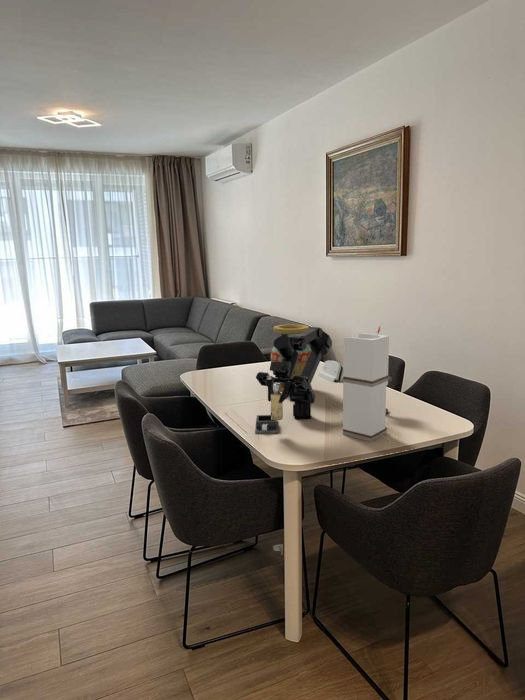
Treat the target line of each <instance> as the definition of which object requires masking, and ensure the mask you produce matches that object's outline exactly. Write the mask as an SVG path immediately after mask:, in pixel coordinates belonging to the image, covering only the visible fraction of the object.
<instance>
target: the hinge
mask: <svg viewBox="0 0 525 700" xmlns="http://www.w3.org/2000/svg"><path fill="white" fill-rule="evenodd" d="M318 377H321V378H323V379H325V380H327V381H330V382H331V383H335V381H338V382H343V365H342V364H341V363H340V362H338V361H336V360H324V363H323V366H322V368H321V370H320V371H319V372H318Z"/></svg>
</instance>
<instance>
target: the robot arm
mask: <svg viewBox="0 0 525 700" xmlns="http://www.w3.org/2000/svg"><path fill="white" fill-rule="evenodd" d="M308 344H309V347H310V348H311V353H310V355H309V357H308V360H307V362H306V364H305V367H304V369H303V371H302V373H301V376H294V377H293V379H291V378H292V375H293V374H295V370H294V369H295V366H296V364H297V361H300V357H299V354H298V352H297V351H303V350H304V349H305V348H306V347H307V345H308ZM332 345H333V340H332V338H331V337H330V335H329V334H328V333H326V332H325V331H324V330H323V328H322V327H320V326H319V327H316V326H315V327H314V326H310V327H309V329H308V330H306V331H304V332H302V333H300V334H292V335H287V334H282V336H281V335H279V336H278V337H276V338H275V340H274V341H273V347H275V348H276V350H277V352H278V353H279V355H280V356H281V357H282V359H281V362H271V361H270V366H269V371H271V372H272V374H273V376H272V375H270V374H269V372H264V371H259V372H257V374H256V376H255V379H256V380H257V382H258V384H260V386H264V387H267V401H268V402H270V403H271V393H273V384H280V383H283V384H285V387H284V390H283V392H281V393H282V395H281V398H280V403H282V402H283V403H284V402H285V400H286V399H288V397H289V401H290V402H291V403H293V404H292V414H293V415H292V416H293V417H294V419H295V420H303V419H305V420H311V419H312V415H311V414H312V412H311V411H312V409H311V408H312V405H311V404H314V403H315V402H316V401H315V400H316V395H315V394H314V391H313V387H312V381H313V379H314V376H315V374H316V371H317V369H318V367H319V365H320V362H321V359H322V357H323V356H325V355H327V354H328V353H329V351H330V350H331V348H332Z"/></svg>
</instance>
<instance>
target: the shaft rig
mask: <svg viewBox="0 0 525 700" xmlns="http://www.w3.org/2000/svg"><path fill="white" fill-rule="evenodd" d="M254 433H255V434H278V420H272V419H271V414H268V413H267V414H265V415H264V414H261V415H260V414H257V415H256V420H255V428H254Z"/></svg>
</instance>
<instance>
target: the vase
mask: <svg viewBox="0 0 525 700" xmlns="http://www.w3.org/2000/svg"><path fill="white" fill-rule="evenodd" d="M309 328H310V326H309V325H306V324H293V323H292V324H280V325H274V326H273V331H274V332H275V333H278V334H279V336H282V334H287V335H292V334H300V333H302V332H304V331H306V330H308V329H309ZM297 352H298V354H299V357H300V361H297V364H296V366H295V369H294V370H295V374H293V375H292V378H291V379H293V377H294V376H301V373H302V371H303V369H304V367H305V364H306V362H307V360H308V357H309V355H310V353H311V347H310V345H308V344H307V347H306V348H305V349H304V350H303V351H297ZM281 359H282V357H281V356H280V355H279V353H278V352H277V350H276V348H275V347H274V346H273V347H272V350H271V352H270V363H271V362H281ZM279 384H280V393H283V390H284V387H285V384H283V383H279Z"/></svg>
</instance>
